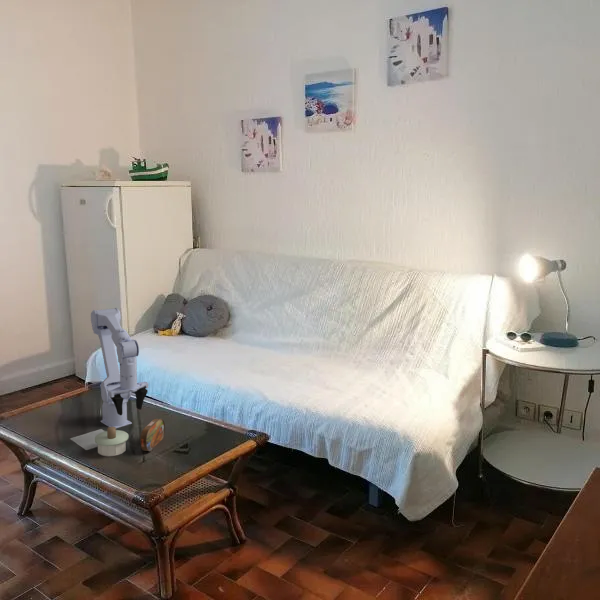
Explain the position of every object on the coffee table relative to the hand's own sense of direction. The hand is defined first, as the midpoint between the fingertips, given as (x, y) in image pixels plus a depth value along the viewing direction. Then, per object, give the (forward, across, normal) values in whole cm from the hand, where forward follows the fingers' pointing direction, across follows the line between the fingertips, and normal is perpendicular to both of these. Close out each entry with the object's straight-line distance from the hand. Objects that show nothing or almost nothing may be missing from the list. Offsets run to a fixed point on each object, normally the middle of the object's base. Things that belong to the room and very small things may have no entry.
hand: (129, 411), depth 209 cm
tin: (+11, +3, -9) cm, 15 cm away
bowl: (+11, -9, -4) cm, 15 cm away
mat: (+10, -10, +8) cm, 16 cm away
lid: (+6, -9, -4) cm, 12 cm away
